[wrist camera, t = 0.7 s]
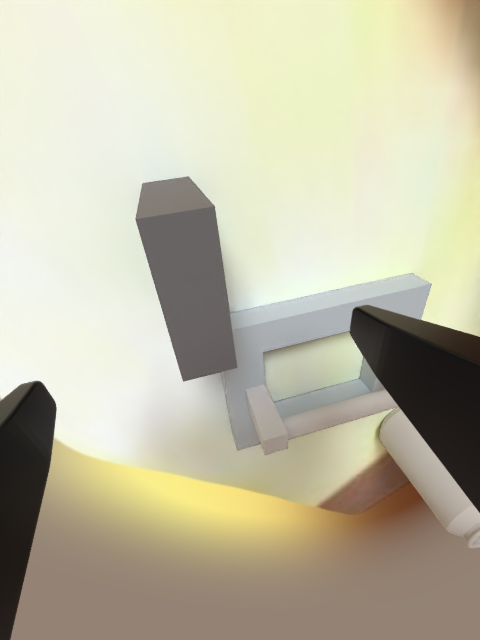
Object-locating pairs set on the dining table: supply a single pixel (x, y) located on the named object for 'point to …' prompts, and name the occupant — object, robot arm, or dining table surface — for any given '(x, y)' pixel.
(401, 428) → the can
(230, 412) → the square frame
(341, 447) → the dining table surface
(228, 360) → the tall grey upright block
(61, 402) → the dining table surface
